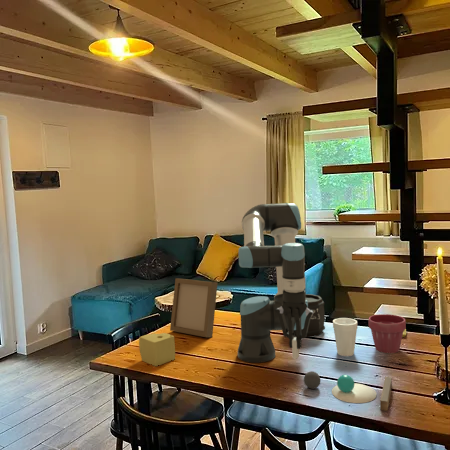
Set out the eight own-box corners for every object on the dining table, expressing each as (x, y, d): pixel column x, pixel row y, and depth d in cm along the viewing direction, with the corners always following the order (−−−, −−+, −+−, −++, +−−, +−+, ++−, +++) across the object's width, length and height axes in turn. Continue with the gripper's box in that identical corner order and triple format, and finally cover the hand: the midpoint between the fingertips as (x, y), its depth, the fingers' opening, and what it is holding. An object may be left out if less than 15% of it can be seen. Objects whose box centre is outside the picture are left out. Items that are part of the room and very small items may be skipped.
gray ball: (315, 375, 152) (319, 391, 152) (320, 368, 156) (324, 383, 157) (299, 376, 154) (304, 392, 155) (304, 369, 159) (309, 384, 159)
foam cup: (358, 358, 180) (358, 325, 178) (334, 357, 182) (333, 324, 180) (356, 349, 189) (356, 318, 188) (333, 348, 191) (332, 317, 190)
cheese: (160, 353, 194) (159, 330, 193) (177, 359, 186) (175, 335, 185) (139, 361, 187) (138, 336, 186) (155, 367, 179) (154, 342, 178)
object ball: (339, 375, 150) (355, 384, 148) (342, 369, 155) (358, 377, 153) (333, 389, 151) (349, 398, 149) (336, 383, 156) (351, 391, 154)
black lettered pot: (296, 323, 227) (295, 291, 225) (330, 328, 216) (330, 295, 215) (277, 333, 212) (276, 300, 211) (314, 340, 202) (313, 304, 200)
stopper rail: (380, 410, 139) (380, 400, 139) (385, 385, 156) (385, 376, 155) (387, 411, 138) (387, 401, 138) (391, 385, 155) (391, 377, 155)
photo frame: (206, 339, 208) (204, 284, 206) (170, 332, 221) (167, 280, 219) (225, 330, 220) (223, 278, 218) (189, 324, 233) (187, 274, 231)
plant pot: (370, 341, 197) (370, 312, 196) (406, 345, 191) (406, 314, 190) (367, 354, 184) (366, 322, 182) (405, 357, 178) (405, 325, 177)
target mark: (328, 399, 147) (328, 398, 147) (335, 381, 160) (335, 380, 160) (374, 406, 142) (374, 405, 142) (378, 386, 155) (378, 386, 155)
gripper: (271, 291, 155) (274, 359, 158) (310, 293, 150) (312, 364, 152) (278, 285, 162) (280, 350, 164) (315, 288, 156) (317, 355, 159)
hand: (295, 357), depth 158 cm, fingers closed
